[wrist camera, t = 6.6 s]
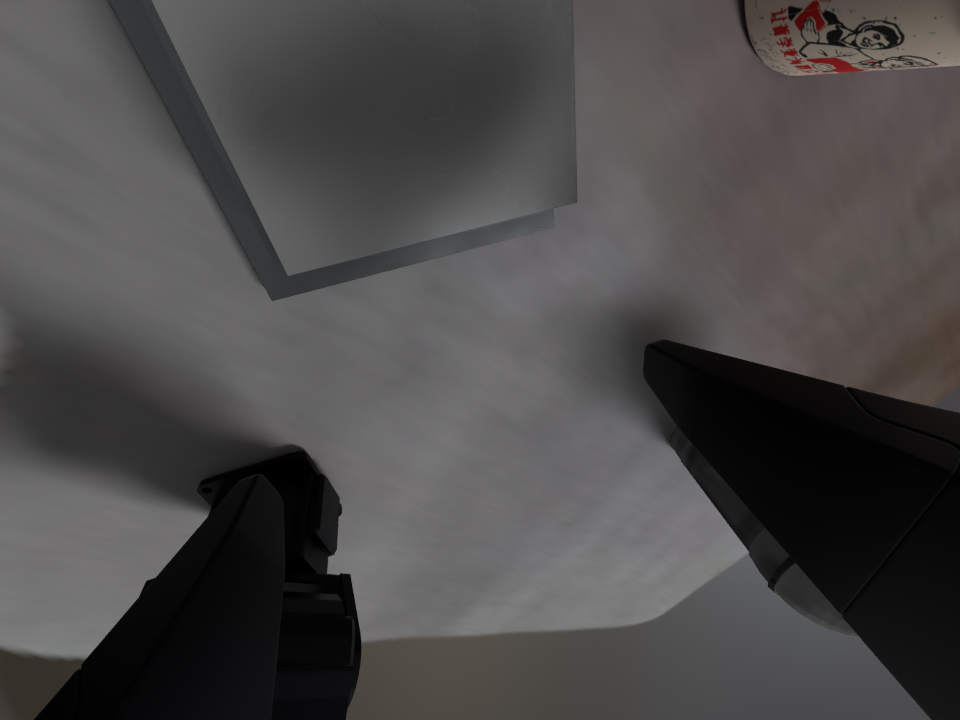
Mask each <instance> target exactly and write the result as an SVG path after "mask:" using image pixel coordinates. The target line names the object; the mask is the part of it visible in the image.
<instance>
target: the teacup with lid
mask: <svg viewBox="0 0 960 720" xmlns="http://www.w3.org/2000/svg"><path fill="white" fill-rule="evenodd" d="M745 17H746V24H747V29H748V33H749V37H750V40H751V43H752V45H753V47H754V50H755V51H756V53H757V55H758V56H759V57H760V59H761V60H762V61H763V62H764V63H765V64H766V65H767V66H768V67H770V68H771V69H773V70H774V71H776V72H779V73H781V74H785V75H793V76H801V75H817V74H833V73H849V72H865V71H880V70H896V69H912V68H928V67H944V66H960V0H745Z"/></svg>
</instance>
